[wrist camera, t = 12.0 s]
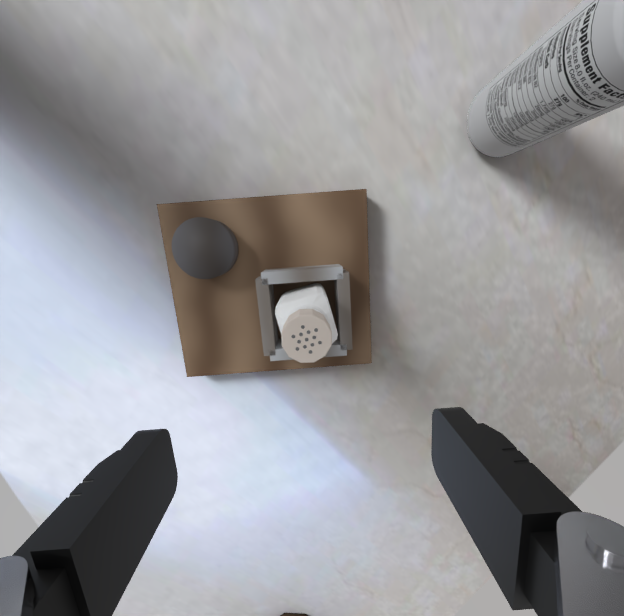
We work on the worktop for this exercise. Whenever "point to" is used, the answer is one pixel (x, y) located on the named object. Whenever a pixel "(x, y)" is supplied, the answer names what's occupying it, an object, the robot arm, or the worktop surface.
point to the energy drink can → (554, 82)
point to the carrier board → (265, 276)
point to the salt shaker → (306, 323)
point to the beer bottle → (293, 614)
